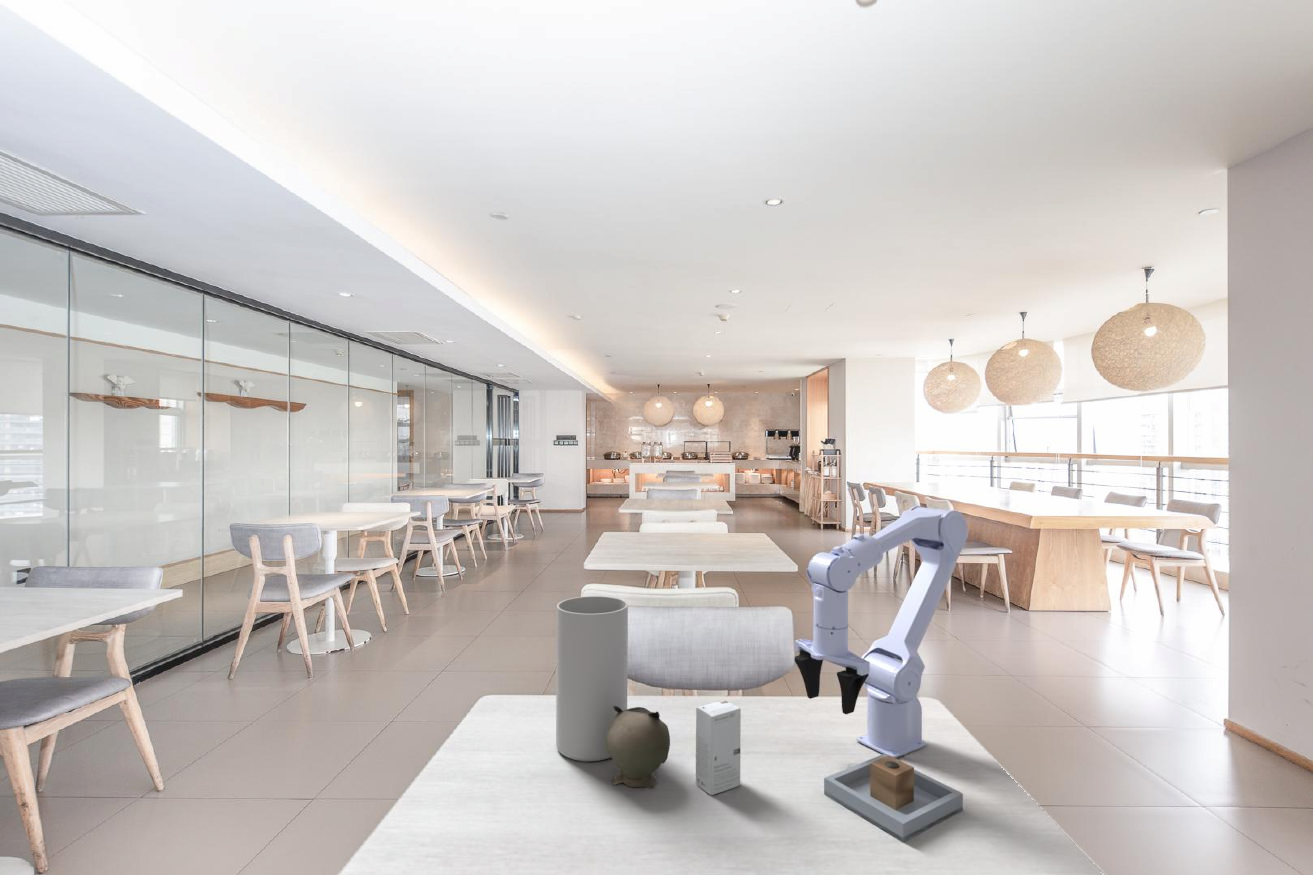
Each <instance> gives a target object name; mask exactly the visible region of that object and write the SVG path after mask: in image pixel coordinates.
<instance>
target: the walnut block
mask: <svg viewBox="0 0 1313 875" xmlns="http://www.w3.org/2000/svg"><path fill="white" fill-rule="evenodd" d="M914 770H915V767H914V766H913V765H909V764H908V763H906V762H903V761H902V760H899V759H897V758H893V757H891V756H889V755H888V756H886V757H883V758H881V759H879V760H876V761H874V762H872V763H870V796H871V797H873V798H874V799H876V800H878V801H880V802H882V803H883V804H885V805H887V806H889V807H891V808H892V809H894V810H897V809H899V808H901V807H903V806H905V805H907V804H909V803H911V802H913V801H914Z"/></svg>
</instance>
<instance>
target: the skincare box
mask: <svg viewBox="0 0 1313 875" xmlns="http://www.w3.org/2000/svg"><path fill="white" fill-rule="evenodd" d="M695 709H696V710H695V711H696V712H695V713H696V714H695V715H696V716H695V717H696V719H695V732H696V733H695V784H696V785H697V787H699V788H700V789H702V790H703V791H704V792H705V793H707V794H708V795H710V796H713V795H716V794H719V793H722V792H725V791H728V790H732V789H734V788H736V787H739V786H740V785H741V732H742V731H741V724H742V722H741V719H742V717H741V710H742V709H741V707H738V706H737V705H735V704H733V703H731V702H729V701H727V700H725V699H724V700H721V701H717V702H716V701H715V702H710V703H707V704H705V705H700V706H697V707H696V708H695Z"/></svg>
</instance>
